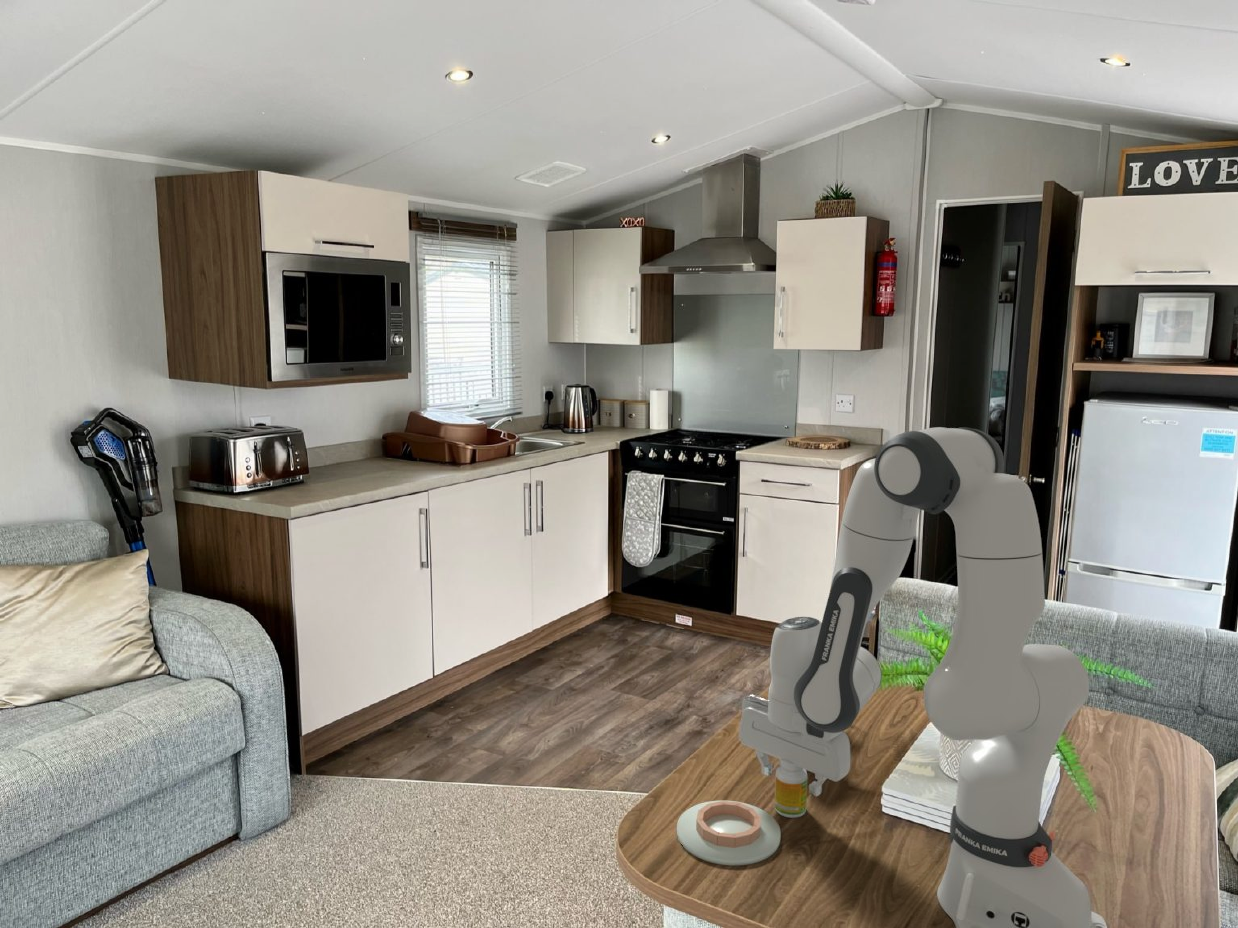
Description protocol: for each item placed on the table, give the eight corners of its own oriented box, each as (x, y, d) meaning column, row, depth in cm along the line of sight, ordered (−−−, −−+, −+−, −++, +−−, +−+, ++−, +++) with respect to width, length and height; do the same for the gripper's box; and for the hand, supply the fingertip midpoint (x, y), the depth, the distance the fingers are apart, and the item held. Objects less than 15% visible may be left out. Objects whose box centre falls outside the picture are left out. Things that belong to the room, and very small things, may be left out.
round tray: (799, 831, 153) (800, 815, 153) (743, 879, 141) (743, 863, 140) (715, 795, 164) (716, 780, 164) (656, 837, 152) (656, 821, 151)
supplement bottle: (805, 820, 156) (808, 767, 155) (773, 816, 158) (775, 764, 156) (806, 803, 162) (808, 752, 160) (774, 800, 163) (776, 749, 161)
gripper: (732, 697, 161) (730, 769, 164) (838, 735, 148) (833, 813, 150) (753, 685, 166) (750, 756, 168) (857, 722, 152) (852, 798, 155)
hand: (790, 783), depth 159 cm, fingers open, 8 cm apart
